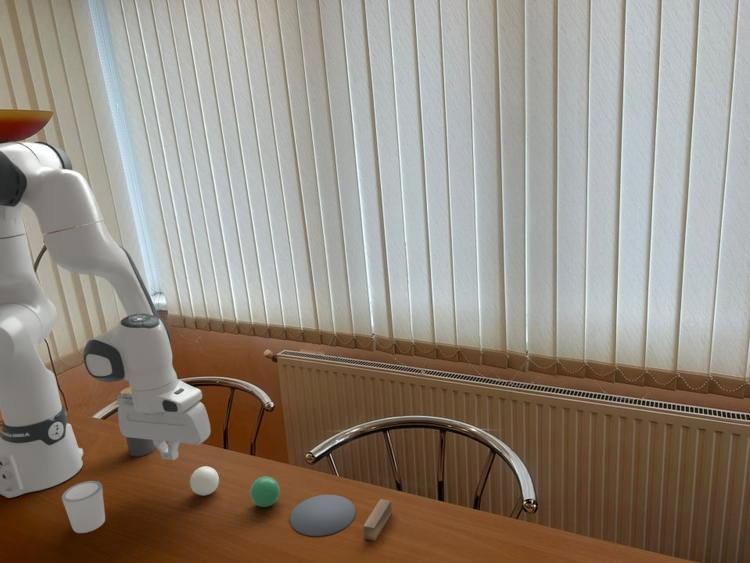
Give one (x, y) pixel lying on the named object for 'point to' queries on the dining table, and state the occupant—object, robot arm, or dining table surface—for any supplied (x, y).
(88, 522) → the shot glass
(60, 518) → the dining table surface
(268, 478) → the green ball
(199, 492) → the cue ball
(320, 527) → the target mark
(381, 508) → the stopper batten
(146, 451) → the bottle
